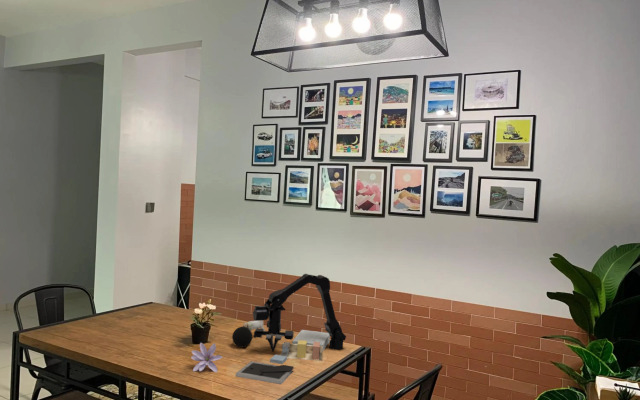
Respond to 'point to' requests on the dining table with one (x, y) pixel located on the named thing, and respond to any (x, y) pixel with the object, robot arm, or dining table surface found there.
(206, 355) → the water lily
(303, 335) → the skincare box
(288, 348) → the bookend
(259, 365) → the picture frame
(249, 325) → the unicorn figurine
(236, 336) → the decorative ball
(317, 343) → the salmon pink box
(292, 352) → the shelf tray
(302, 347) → the olive yellow block
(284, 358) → the blue book lying
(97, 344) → the dining table surface
